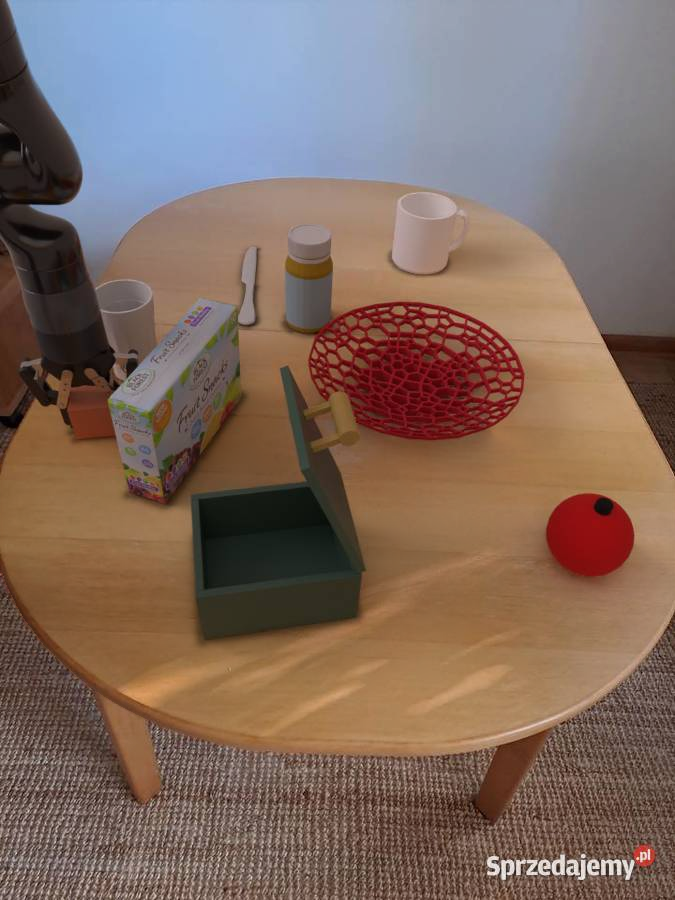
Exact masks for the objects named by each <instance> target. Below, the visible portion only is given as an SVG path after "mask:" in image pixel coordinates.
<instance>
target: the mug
mask: <svg viewBox="0 0 675 900" xmlns="http://www.w3.org/2000/svg"><path fill="white" fill-rule="evenodd" d="M457 217H460V218H462V219H463V228H462V230H461V233H460V235H459V237H458V238H457V239H456V240H455V241H454V242H452V240H453V233H454V228H455V222H456V218H457ZM470 223H471V219H470V214H469V213H468V212H467V211H466V210H464V209H458V206H457V204H456V203H455V202H454V200H452V199H451V198H449V197H447V196H445V195H443V194H439V193H435V192H428V191H414V192H411V193H406V194H404V195H402V196H401V197H400V198H399V199H398V201H397V205H396V215H395V224H394V233H393V242H392V250H391V260H392V262H393V263H394V265H395V266H396V267H397V268H398V269H400V270H402V271H404V272H407V273H409V274H415V275H425V276H426V275H433V274H437V273H439V272H441V271H443V270H444V269H445V268H446V267H447V264H448V261H449V256H450V252H453V251H455V250H457V249H458V248H459V247H460V246H461V245H462V244H464V241H465V239H466V237H467V234H468V232H469V229H470Z"/></svg>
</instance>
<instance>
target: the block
mask: <svg viewBox="0 0 675 900" xmlns="http://www.w3.org/2000/svg"><path fill="white" fill-rule="evenodd" d="M108 399H109V398H108V397H107V395H106V394H103V393H102V392H101V391H100V390H99V389H98V387H97V386H86V385H84V386H80V387H75V388H71V387H70V393H69V401H68V408H67V412H68V415H69V418H70V421H71V424H72V427H73V429H72V430H73V433H74V436H75V438H76V440H86V439H87V440H88V439H96V438H97V439H98V438H106V437H116V434H115V430H114V425H113V421H112V417H111V413H110V409H109V405H108Z"/></svg>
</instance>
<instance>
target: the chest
mask: <svg viewBox="0 0 675 900" xmlns="http://www.w3.org/2000/svg"><path fill="white" fill-rule="evenodd" d="M190 509H191V529H192V532H191V533H192V547H193V548H192V551H193V571H194V590H195V591H194V592H195V594H194V595H195V601H196V607H197V612H198V617H199V622H200V627H201V632H202V637H203V640H204V641H206V640H211V639H212V640H213V639H219V638H225V637H233V636H240V635H245V634H253V633H259V632H266V631H273V630H280V629H287V628H294V627H299V626H300V627H301V626H307V625H314V624H320V623H322V624H323V623H328V622H336V621H342V620H347V619H355V618H357V617H358V608H359V601H360V593H361V585H362V577H363V575H362V574H363V573H359V574H358V572H357V570H356V568H355V567H354V565H353V563H352V561H351V560H350V558H349V556H348V554H347V552H346V551H345V549H344V547H343V545H342V543H341V542H340V540H339V538H338V536H337V535H336V533H335V531H334V529H333V527H332V526H331V524H330V522H329V520H328V519H327V517H326V515H325V513H324V511H323V510H322V508H321V506H320V504H319V502H318V501H317V499H316V497H315V495H314V494H313V492H312V490H311V488H310V486H309V485H308V483H307V481H306V480H305V481H297V482H296V481H295V482H287V483H280V484H271V485H260V486H252V487H243V488H235V489H225V490H218V491H217V490H216V491H208V492H199V493H191V494H190Z"/></svg>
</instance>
